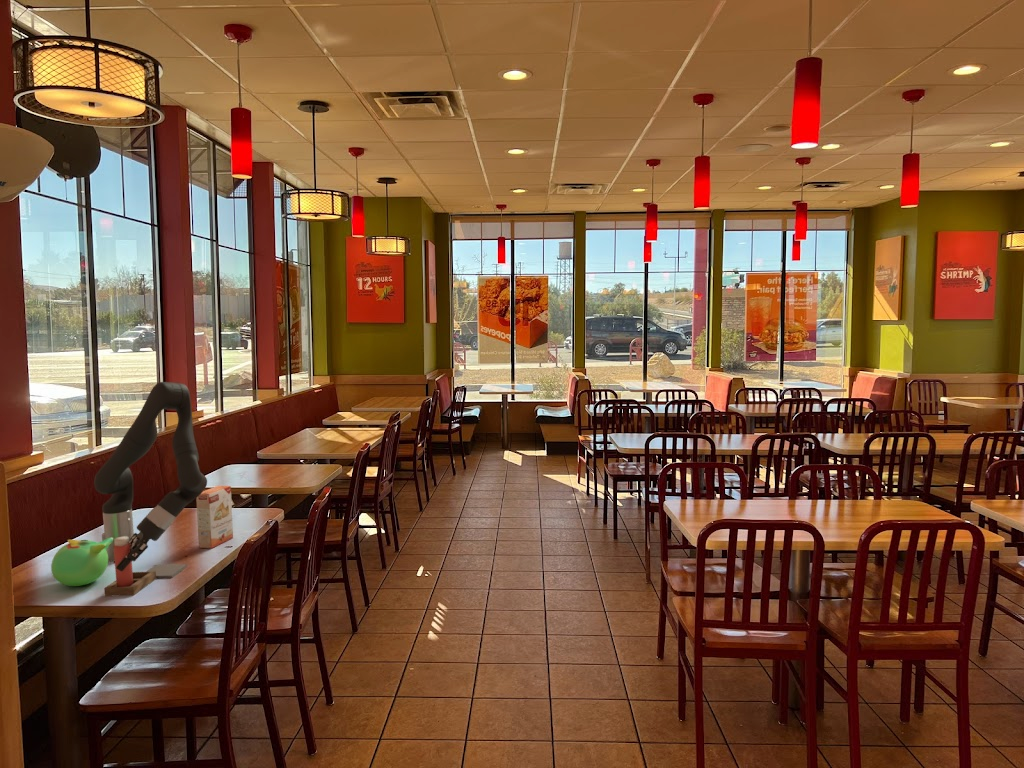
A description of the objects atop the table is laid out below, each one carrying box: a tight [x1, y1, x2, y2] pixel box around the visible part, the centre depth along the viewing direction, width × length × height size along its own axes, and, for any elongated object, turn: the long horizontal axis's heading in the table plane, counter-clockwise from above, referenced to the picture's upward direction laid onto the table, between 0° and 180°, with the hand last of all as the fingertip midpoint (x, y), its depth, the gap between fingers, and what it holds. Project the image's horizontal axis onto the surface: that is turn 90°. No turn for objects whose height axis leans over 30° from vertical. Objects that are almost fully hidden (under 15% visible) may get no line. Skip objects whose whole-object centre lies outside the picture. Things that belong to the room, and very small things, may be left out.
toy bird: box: [50, 537, 113, 587], centre depth 230 cm, size 18×17×15 cm
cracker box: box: [195, 485, 234, 549], centre depth 270 cm, size 14×6×21 cm, turn 168°
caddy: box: [103, 571, 157, 597], centre depth 225 cm, size 14×9×2 cm, turn 1°
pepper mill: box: [114, 536, 134, 587], centre depth 221 cm, size 5×5×17 cm
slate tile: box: [145, 563, 188, 579], centre depth 239 cm, size 11×11×1 cm
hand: (117, 566), depth 220 cm, fingers open, 6 cm apart
